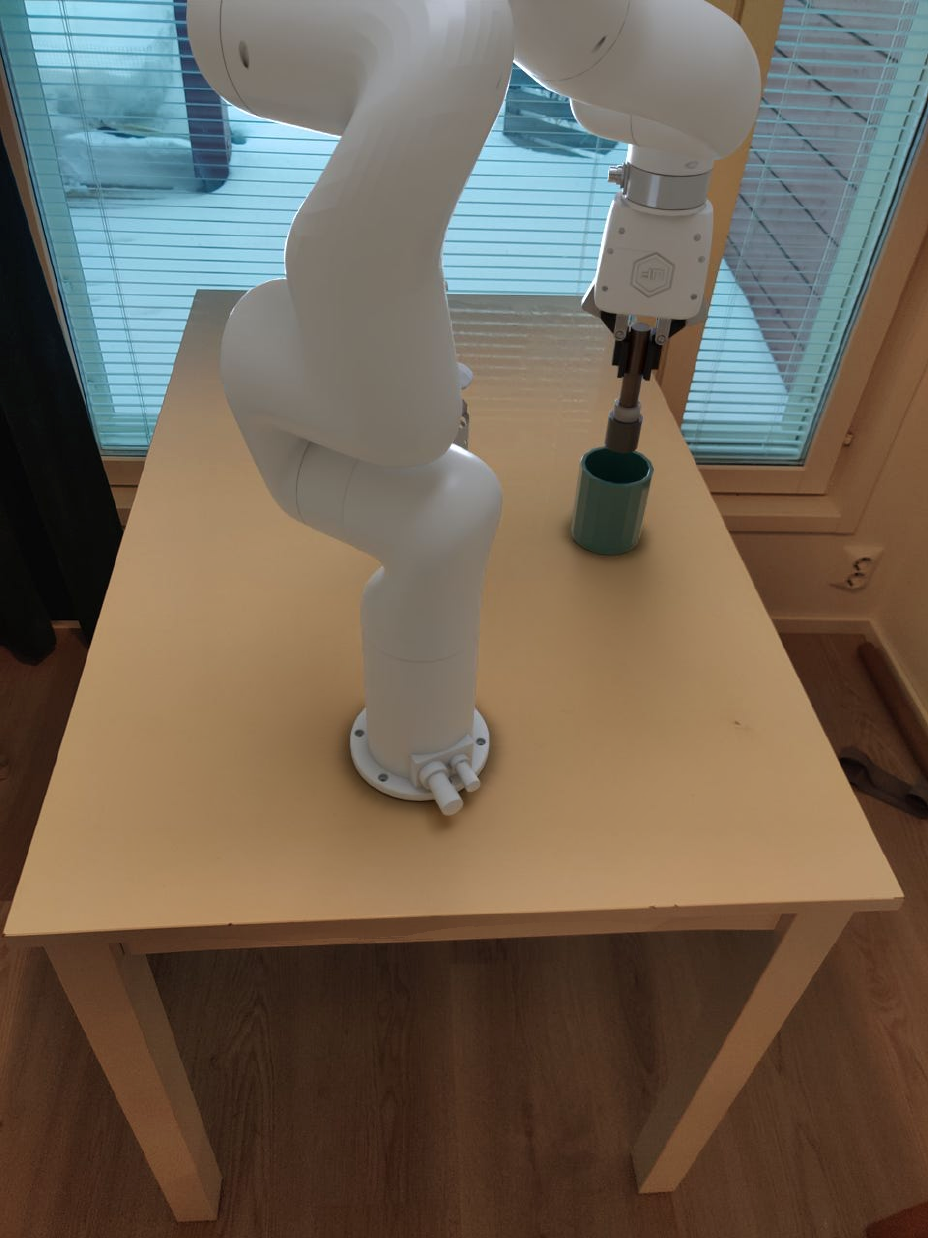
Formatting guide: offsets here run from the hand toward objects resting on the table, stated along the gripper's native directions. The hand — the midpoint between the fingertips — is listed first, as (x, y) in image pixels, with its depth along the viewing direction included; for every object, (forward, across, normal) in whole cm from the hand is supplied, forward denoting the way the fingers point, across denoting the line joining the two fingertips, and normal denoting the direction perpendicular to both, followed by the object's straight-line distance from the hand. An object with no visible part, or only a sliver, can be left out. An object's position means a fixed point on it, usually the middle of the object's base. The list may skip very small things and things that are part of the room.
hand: (633, 371), depth 95 cm
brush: (+9, 0, 0) cm, 9 cm away
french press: (+21, -22, +9) cm, 32 cm away
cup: (+21, 0, 0) cm, 21 cm away
